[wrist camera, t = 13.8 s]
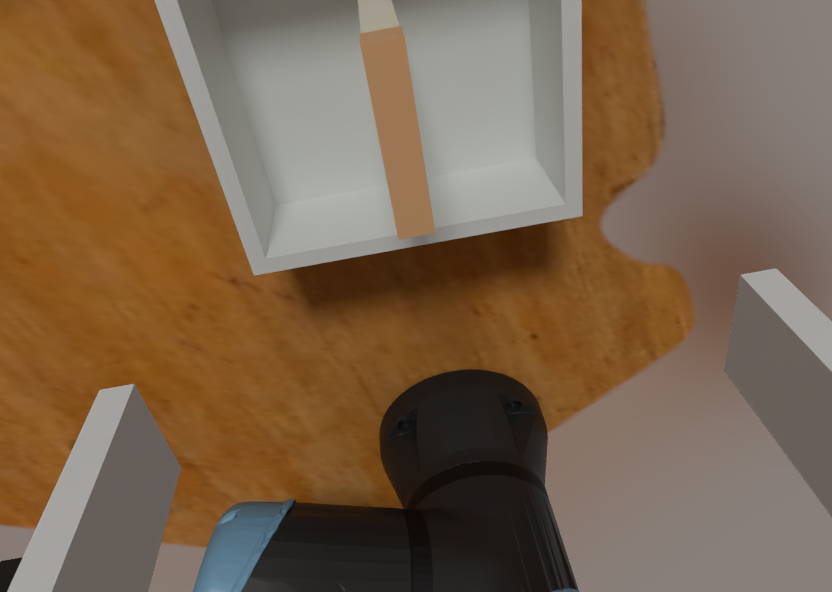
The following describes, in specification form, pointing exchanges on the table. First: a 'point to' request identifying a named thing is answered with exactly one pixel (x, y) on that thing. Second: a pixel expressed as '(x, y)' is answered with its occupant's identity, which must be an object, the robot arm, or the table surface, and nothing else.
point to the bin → (356, 128)
